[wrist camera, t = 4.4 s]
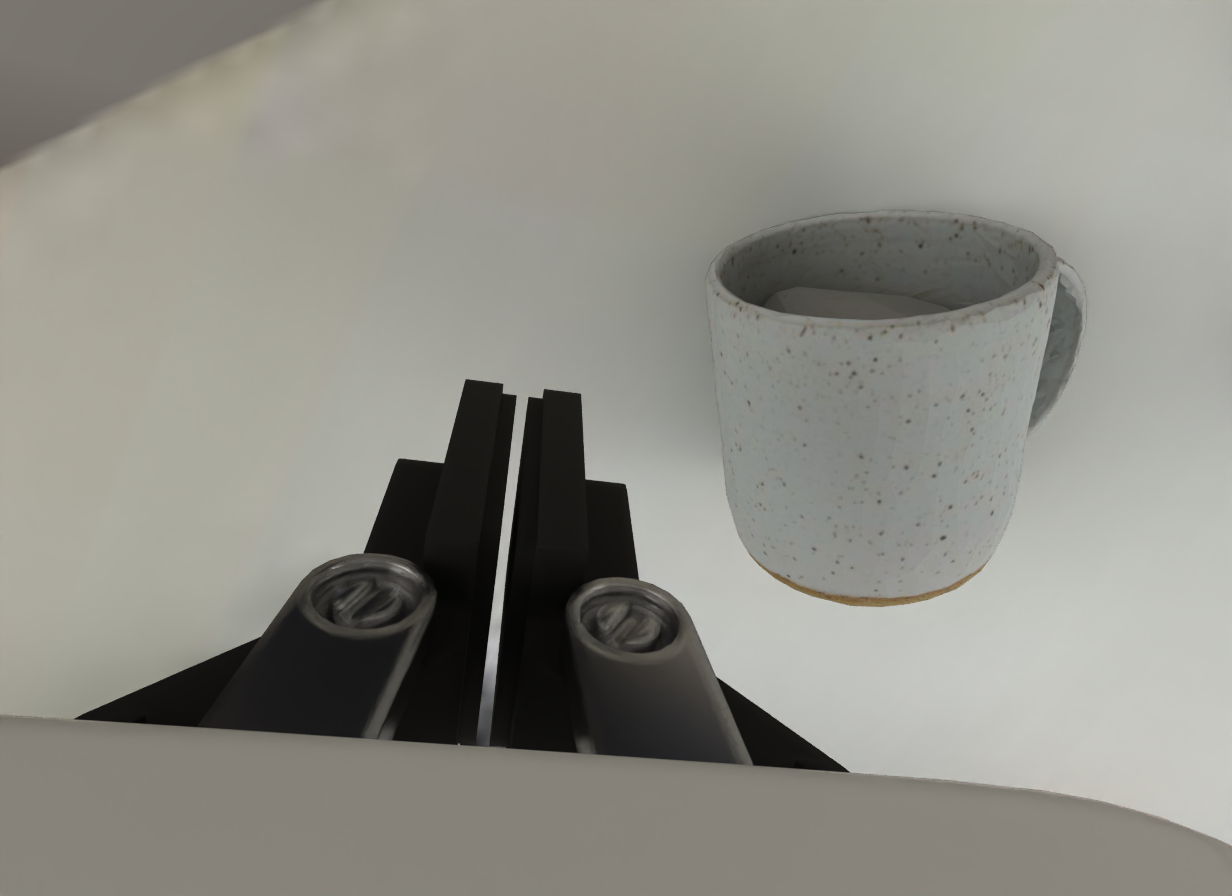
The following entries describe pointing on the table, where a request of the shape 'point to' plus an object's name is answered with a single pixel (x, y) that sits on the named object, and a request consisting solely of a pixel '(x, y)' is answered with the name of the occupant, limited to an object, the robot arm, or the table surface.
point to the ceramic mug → (884, 393)
